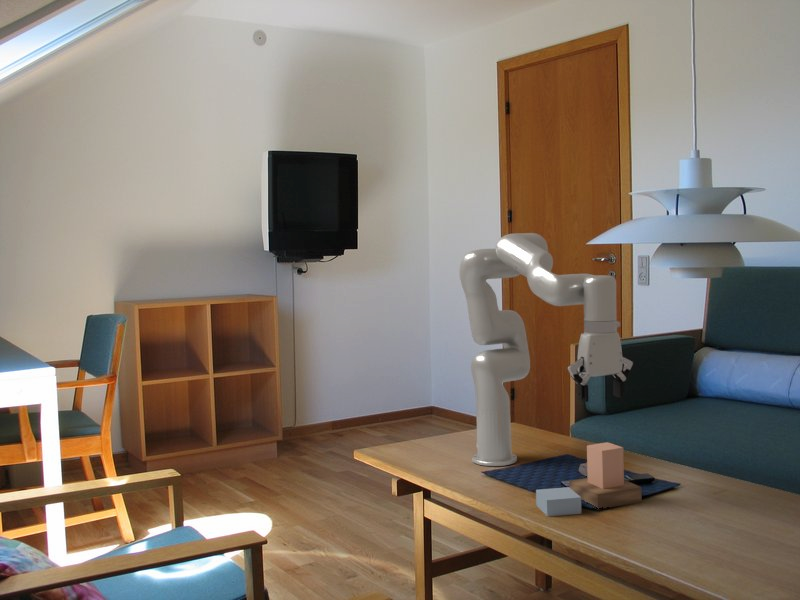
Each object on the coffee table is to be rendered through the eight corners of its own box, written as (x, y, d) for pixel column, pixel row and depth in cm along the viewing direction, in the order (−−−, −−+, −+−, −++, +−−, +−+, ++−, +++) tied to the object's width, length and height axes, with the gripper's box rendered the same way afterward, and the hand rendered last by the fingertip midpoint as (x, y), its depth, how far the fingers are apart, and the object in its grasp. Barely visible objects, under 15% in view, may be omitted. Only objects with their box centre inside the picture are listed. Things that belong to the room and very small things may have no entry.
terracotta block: (587, 482, 194) (586, 445, 193) (608, 478, 196) (607, 442, 195) (603, 488, 188) (602, 450, 188) (624, 485, 190) (623, 447, 190)
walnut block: (569, 496, 196) (569, 480, 196) (611, 490, 200) (611, 474, 200) (597, 511, 185) (597, 494, 184) (641, 503, 189) (641, 487, 188)
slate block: (536, 506, 189) (535, 489, 189) (569, 503, 190) (568, 487, 190) (547, 517, 181) (546, 500, 181) (581, 514, 182) (581, 497, 182)
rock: (595, 482, 206) (595, 467, 205) (573, 472, 216) (573, 457, 215) (625, 478, 208) (625, 463, 208) (602, 468, 218) (602, 453, 218)
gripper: (621, 323, 197) (622, 392, 199) (560, 328, 192) (561, 399, 193) (640, 326, 190) (641, 398, 192) (577, 331, 185) (578, 405, 186)
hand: (601, 398), depth 192 cm, fingers open, 9 cm apart
